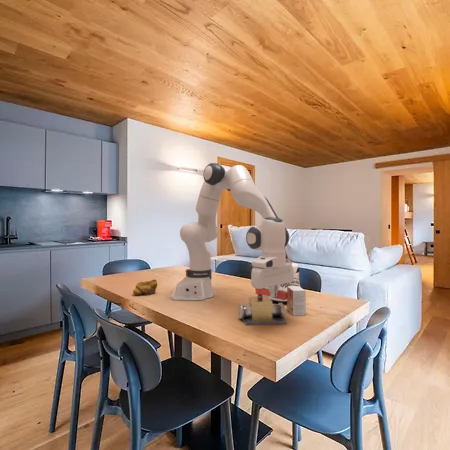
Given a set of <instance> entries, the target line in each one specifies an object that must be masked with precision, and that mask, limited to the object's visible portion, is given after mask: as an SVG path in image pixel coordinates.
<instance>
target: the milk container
mask: <svg viewBox="0 0 450 450" xmlns="http://www.w3.org/2000/svg"><path fill="white" fill-rule="evenodd" d="M292 266H293V272H294V280H293V282H290V283H285V284H281V285H279V289H278V290H281V291H287V286H299V287H301V284H300V265H299V264H298V263H296V262H292ZM267 289H268V287H267ZM268 297H269V298H270V299H271V301H272V302H277V303H283V304H284V303H285V304H287V299H286V300H281V299H276V298H272V297H270V296H268Z"/></svg>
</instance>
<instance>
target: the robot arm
mask: <svg viewBox="0 0 450 450" xmlns="http://www.w3.org/2000/svg"><path fill="white" fill-rule="evenodd" d="M202 176H203V180H204V181H203V183H202V186H201V188H200V190H199V195H198V198H197V202H196V206H195V211H196V213H197V214H198V218H197V219H198V220H197V222H196V221H195V222H188V223H186V224H183V225H182V226H181V228H180V230H179V237H180V240H182V242H184V244H185V246H186V248H187V251H188V255H189V268H186V269H185V270H184V271H185V277H184V278H183V279H181V280H180V281H179V282H178V283H177V284H176V286H175V289H174V291H173V292H172V293H171V295H170V298H171V299H172V300H173V301H175V300H176V301H204V300H206V299H210V298H212V297H214V296H215V294H214V291H213V285H212V277H213V275H212V273H213V272H212V266H211V265H212V264H211V261H212V260H211V253H210V251H208V249H207V247H206V243H209V242H212V241H214V240H215V239H217V238H218V236H219V228H218V227H217V212H218V208H219V206H220V205H219V204H220V201H221V197H222V193H223V192H224V190H227V191H228V192H230V194H231V196H232V198H233V200H234V202H235V203H236V204H238V205H239V206H241V207H243V208H244V207H245V208H247V209H249V210H252V211H255V212H257V213H258V214H259V215H261V217H262V221H261V222H260V223H258V224H256V225H255V226H251V227H250V228H248V230H247V232H246V234H245V235H246V236H245V240H246V243H247V246H248V247H249V248H250V249H252V250H254V251H255V250H256V251H257V250H261V255H259V256H258V257H257V258H255V259H253V260H251V266H252V269H251V272H250V273H251V274H250V275H251V277H250V279H251V280H250V283H251V286H252V288H254V289H255V288H257V289H262V288H267V287H268V289H269V291H270V297H272V298H274V297H277V292H278V289H279V285H281V284H285V283H290V282H293V280H294V272H293V266H292V263H293V262H292V261H291V259H290V258H287V257H286V252H287V251H286V247H287V245H288V244H289V241H290V233H289V231H288V229H287V228H286V226H285V222H284V220H283V219H282V218H279V217H278V215H277V213H276V212H275V209H274V208H273V207H272V204H271V202H270V201H269V200H268V198H267V197H266V196H264V195H263V194H262V193H261V192H260V190H259V189H258V188H257V186H256V184H255V182H254V180H253V178H252V176H251V174H250V172H249V171H248V169H247V168H246V166H244V165H241V164H237V165H233V166H230V165H225V164H220V163H218V162H217V163H216V162H212V163H211V162H210V163H208V164H207V165H206V166H205V167H204V170H203V174H202Z"/></svg>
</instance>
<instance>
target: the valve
mask: <svg viewBox="0 0 450 450" xmlns="http://www.w3.org/2000/svg"><path fill="white" fill-rule="evenodd" d="M285 312H286V310H285V305H284V303H281V302H277V304H273V301H272V300H271V299H270V298H269V297H268V296H265V295H258V294H256V296H255V295H253V296H248V305H244V304H243V303H241V304H238V317H239V319H240V320H242V321H243V323H244V325H245V326H261V325H262V326H265V325H284V324H285V325H286V324H287V323H288V320H287V319H286V318H285V316H286V313H285Z"/></svg>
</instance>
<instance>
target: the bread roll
mask: <svg viewBox="0 0 450 450" xmlns="http://www.w3.org/2000/svg"><path fill="white" fill-rule="evenodd" d="M157 288H158V281H157V280H156V279H152V280H146V281H139V282H137V283H136V285H135V288H134V289H133V290H132V293H133V295H134V296H142V295H141V294H149V295H152V294H151V293H153V294H155V292H156V291H157Z"/></svg>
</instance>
